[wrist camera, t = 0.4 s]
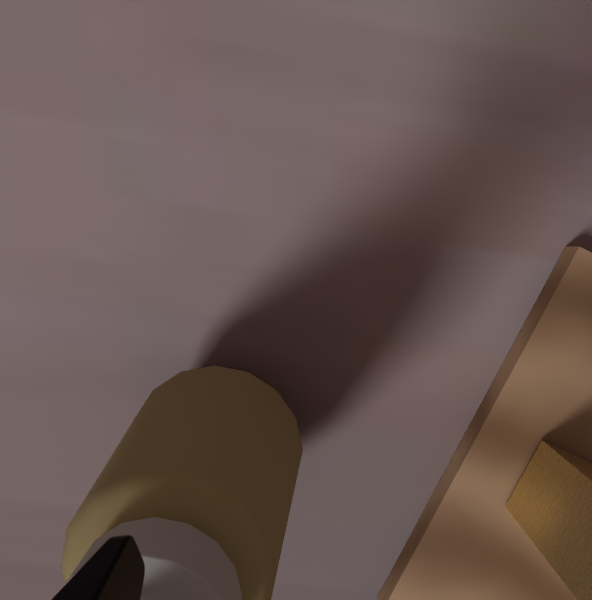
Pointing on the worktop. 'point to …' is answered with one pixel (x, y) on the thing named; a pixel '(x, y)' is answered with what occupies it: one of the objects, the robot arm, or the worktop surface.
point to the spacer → (558, 513)
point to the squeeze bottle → (198, 488)
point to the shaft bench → (508, 458)
